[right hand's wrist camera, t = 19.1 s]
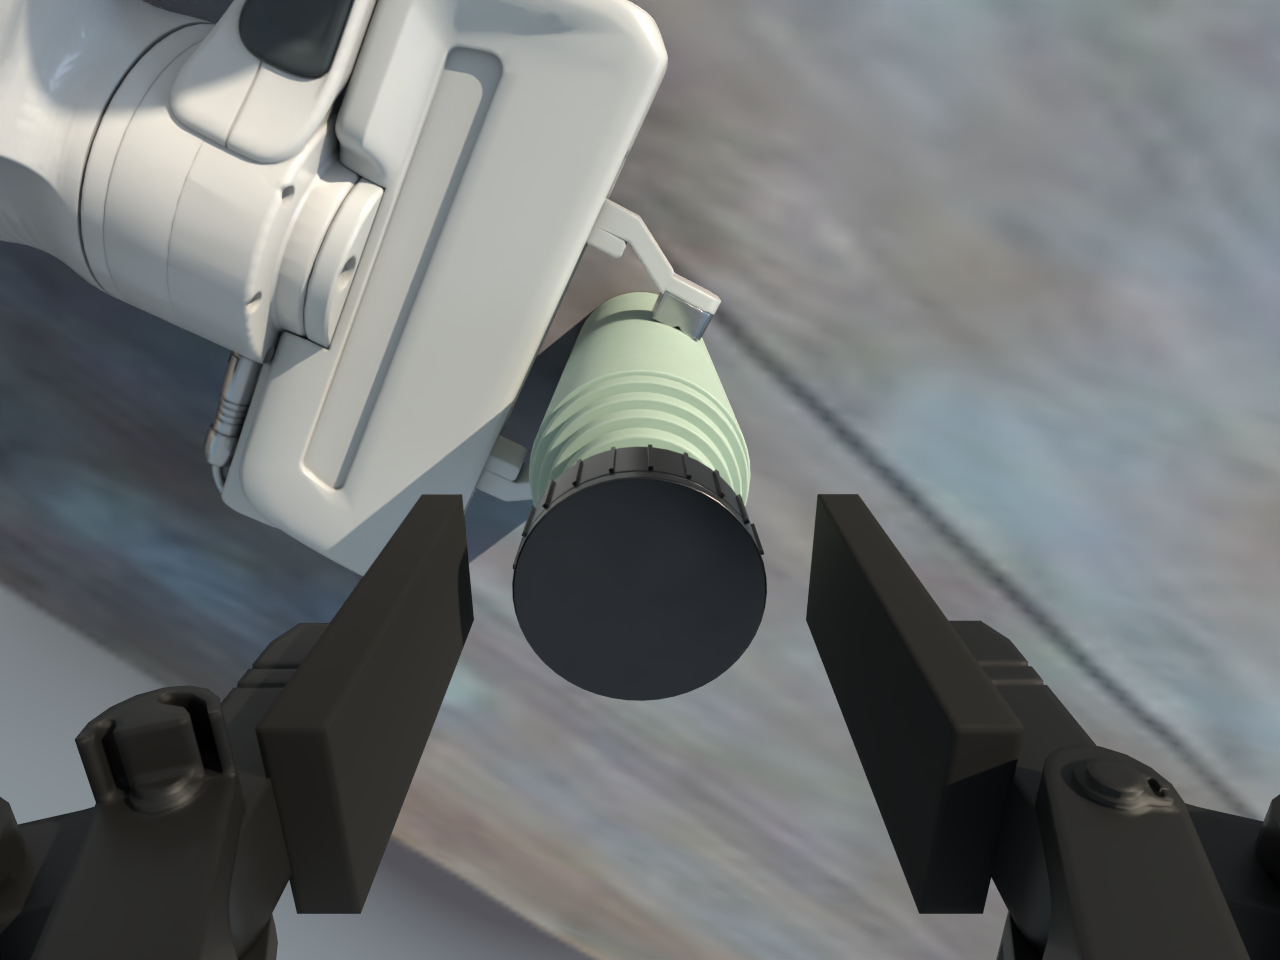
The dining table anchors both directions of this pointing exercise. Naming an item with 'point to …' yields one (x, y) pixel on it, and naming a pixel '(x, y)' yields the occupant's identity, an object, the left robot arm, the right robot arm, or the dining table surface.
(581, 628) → the cap
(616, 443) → the bottle
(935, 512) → the dining table surface
